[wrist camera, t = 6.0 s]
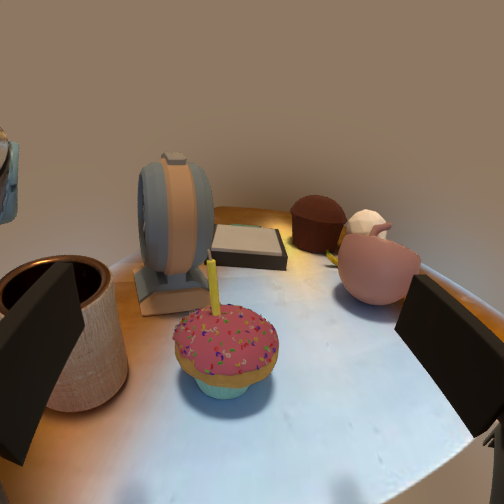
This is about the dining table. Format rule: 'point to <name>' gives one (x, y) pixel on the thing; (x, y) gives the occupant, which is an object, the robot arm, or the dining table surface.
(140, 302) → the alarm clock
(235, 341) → the cupcake
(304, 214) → the muffin
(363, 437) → the dining table surface
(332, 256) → the fruit
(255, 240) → the scale
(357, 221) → the white geodesic ball
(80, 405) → the planter
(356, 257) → the mortar and pestle
